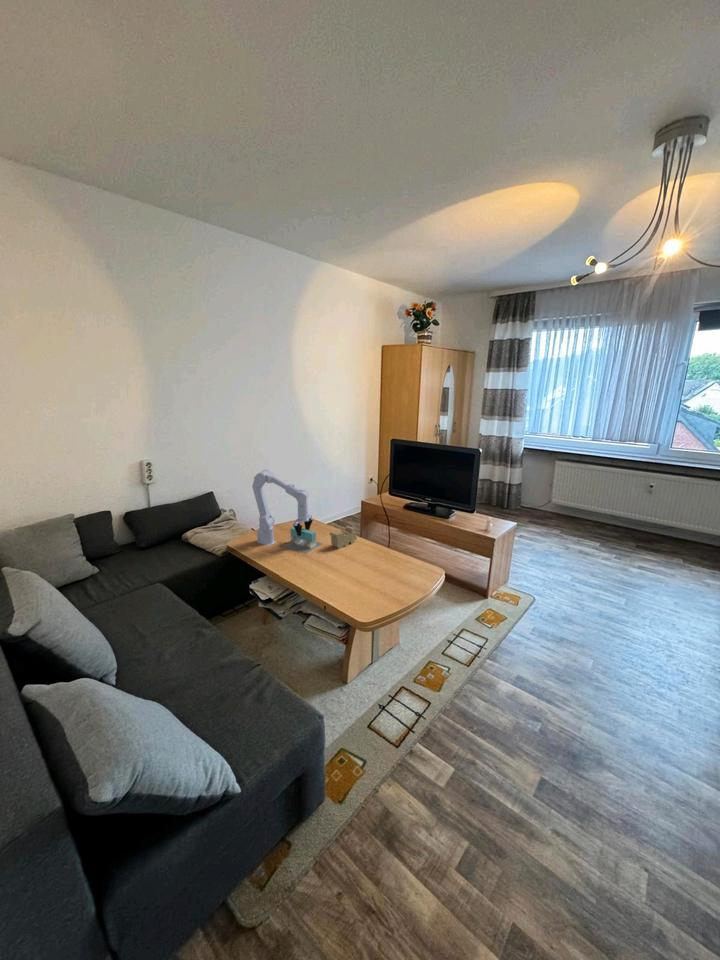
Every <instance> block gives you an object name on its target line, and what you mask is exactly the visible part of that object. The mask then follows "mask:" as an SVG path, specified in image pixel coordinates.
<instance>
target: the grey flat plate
mask: <svg viewBox="0 0 720 960" xmlns="http://www.w3.org/2000/svg"><path fill="white" fill-rule="evenodd" d="M321 545H323V543H321V542H318V541H316V546H315V547H313V548H311V549H310V548H307V547H304V540H303V542H302V543H300V544H298V545H296V544H293V543H291V541H289V542H287V543H285V544H283V545H282V547H283V548H285V549H288V550H293V551H296V552H300V553H302V554H308V553H309V552H311V551H313V550H315V549H316V548H318V547H320V546H321Z"/></svg>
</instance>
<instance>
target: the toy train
mask: <svg viewBox="0 0 720 960" xmlns="http://www.w3.org/2000/svg"><path fill="white" fill-rule="evenodd" d="M329 535H330V537H331V538H330V539H331V540H330V542H331V545H332V547H334V548H336V549H342V548H344V547H347V546H349V544H354V543H355V541H356V540H357V538H358V537H357V535H356V531H355V527H352V526H349V525H347V526H345V528H344V530H343V529H340V530H338V529H336V530H333V531H331V532H329Z"/></svg>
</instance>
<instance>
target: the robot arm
mask: <svg viewBox="0 0 720 960" xmlns="http://www.w3.org/2000/svg"><path fill="white" fill-rule="evenodd" d="M265 484H275V485H276V486H278V487H281V489H284V490H285V493H286V494H288V495H289V496H292V497H293V498H294V499H295V500H296V502H297V519H295V521H293V524H292V527H294V528H295V530H296V532H297V535H298V536H301V529H303V525H302V523H304V529H306V530H311V529H310V528H311V525H312V523H313V515H310V514H309V513H308V512H309V511H308V510H309V506H308V499H309V493H308V492H307V491H306V490H305V489H302V488H301V489H300V488H298V486H296V484H294V483H293V484H292V483H287V482H285V481H284V480H282V479H281V478H280V477H278V476H277V475H276V474H275V473H274V472H271V471H270V470H268V469H263V470H261V471H260V472H259V473H256V475H255V476H253V483H252V490H253V494H254V499H255V501H256V502H255V503H256V505H257V509H258V513H259V517H258V521H259V525H258V529H257V531H256V537H257V539H256V540H257V541H256V543H257V544H261V545H265V546H268V547H269V546H271V545H273V544H274V543H276V542H278V541H277V540H276V539H274V537H275V536H274V535H275V534H274V524H275V518H274V517H273V515H272V513H271V512H270V510H269V508H268V503H267V500H266V496H265V492H264V488H263V487H264V485H265Z"/></svg>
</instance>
